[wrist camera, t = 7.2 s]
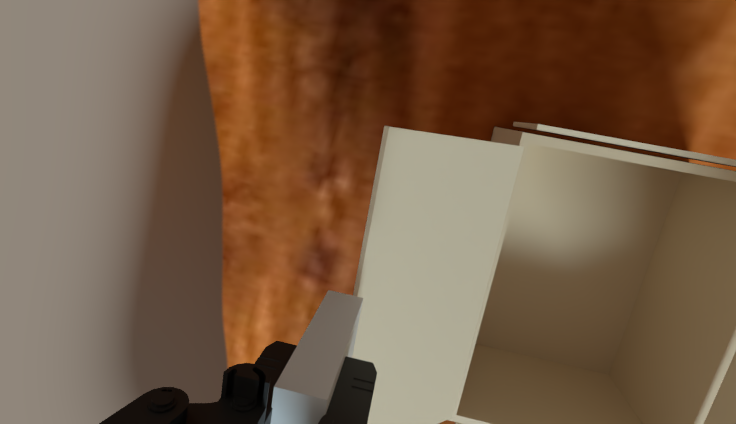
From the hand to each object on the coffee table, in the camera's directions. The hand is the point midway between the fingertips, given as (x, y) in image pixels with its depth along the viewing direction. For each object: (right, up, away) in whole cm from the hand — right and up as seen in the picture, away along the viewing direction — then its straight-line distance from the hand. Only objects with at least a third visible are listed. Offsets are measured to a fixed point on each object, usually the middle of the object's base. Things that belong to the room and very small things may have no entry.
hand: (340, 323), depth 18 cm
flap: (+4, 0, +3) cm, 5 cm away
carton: (+16, +1, +16) cm, 22 cm away
